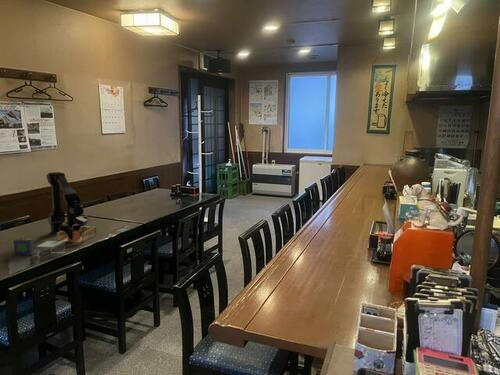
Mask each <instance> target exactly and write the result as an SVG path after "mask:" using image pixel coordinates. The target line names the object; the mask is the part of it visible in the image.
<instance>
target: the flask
mask: <svg viewBox="0 0 500 375" xmlns="http://www.w3.org/2000/svg"><path fill="white" fill-rule="evenodd" d="M13 246H14V247H13V249H14V257H31V256H34V248H33V247H34V246H33V239H32V238H25V236H24V235H23V236H20V238H15V239H13Z"/></svg>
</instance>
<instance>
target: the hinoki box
mask: <svg viewBox="0 0 500 375" xmlns="http://www.w3.org/2000/svg"><path fill="white" fill-rule="evenodd" d="M79 231H80V239H78V240H77V241H68V239H67V234H66V233H65V231H60V232H56V237H57V238H56V239H57V241H64V242H75V243H77V242H78V243H84V242H86V241H88V240H89V239H91V238H93V237H94V236H96V235H97V227H96V226H86V225H84V226H81V227H80V229H79Z"/></svg>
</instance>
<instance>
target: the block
mask: <svg viewBox="0 0 500 375" xmlns="http://www.w3.org/2000/svg"><path fill="white" fill-rule="evenodd" d="M67 239H68V241H67V242H70V241H77V240H78V239H80V231H78V230H74V231H73V238H72V240H70V238H69V237H68V235H67Z"/></svg>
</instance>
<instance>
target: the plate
mask: <svg viewBox="0 0 500 375" xmlns="http://www.w3.org/2000/svg"><path fill="white" fill-rule="evenodd" d="M64 242H65V241H58V240H46V241H44V242H43V243H41V244H38V245H37V246H36V247H37V248H38V247H39V248H54V247H56V246H58V245H60V244H62V243H64Z"/></svg>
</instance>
